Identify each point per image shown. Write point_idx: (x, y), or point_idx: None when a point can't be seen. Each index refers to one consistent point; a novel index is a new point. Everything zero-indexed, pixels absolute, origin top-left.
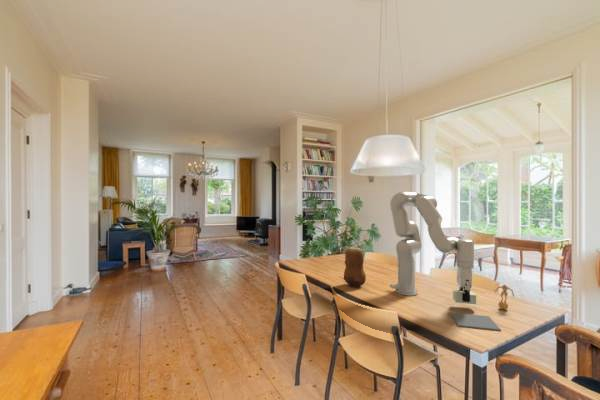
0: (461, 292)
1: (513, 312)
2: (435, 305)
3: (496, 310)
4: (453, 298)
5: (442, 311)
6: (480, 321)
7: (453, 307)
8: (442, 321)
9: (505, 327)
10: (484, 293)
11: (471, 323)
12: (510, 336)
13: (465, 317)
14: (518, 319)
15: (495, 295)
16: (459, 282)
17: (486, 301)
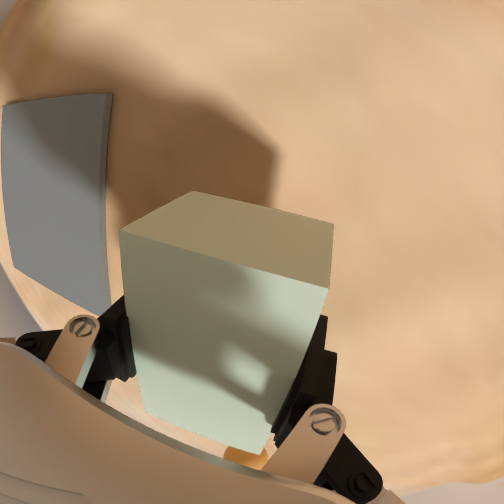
0: (197, 347)
1: (215, 444)
2: (304, 13)
3: None
4: (308, 220)
5: (154, 40)
6: (39, 231)
7: (260, 170)
8: (38, 38)
9: (46, 304)
10: (462, 462)
11: (16, 174)
12: (4, 267)
13: (57, 172)
14: (139, 406)
15: (424, 480)
16: (7, 429)
17: (371, 443)
